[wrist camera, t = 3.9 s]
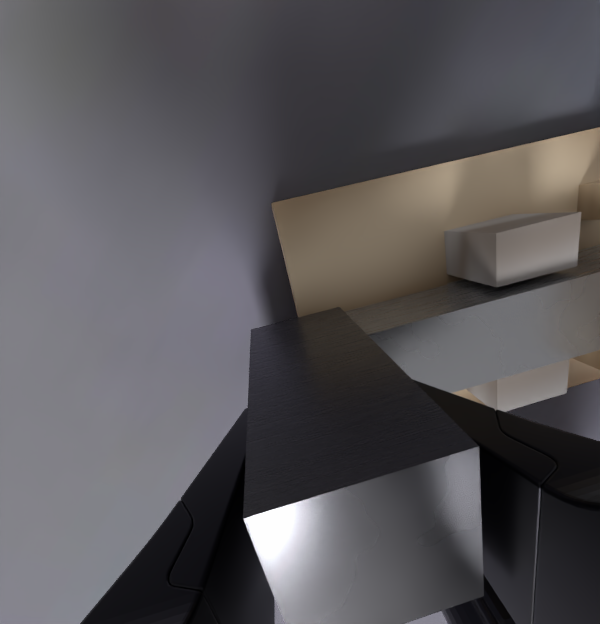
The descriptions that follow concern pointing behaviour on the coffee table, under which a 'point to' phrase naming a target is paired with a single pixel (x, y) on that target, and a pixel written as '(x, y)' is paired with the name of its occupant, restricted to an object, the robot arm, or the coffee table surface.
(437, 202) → the rail
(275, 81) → the coffee table surface
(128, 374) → the coffee table surface
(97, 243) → the coffee table surface
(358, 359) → the grey metal bar
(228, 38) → the coffee table surface
